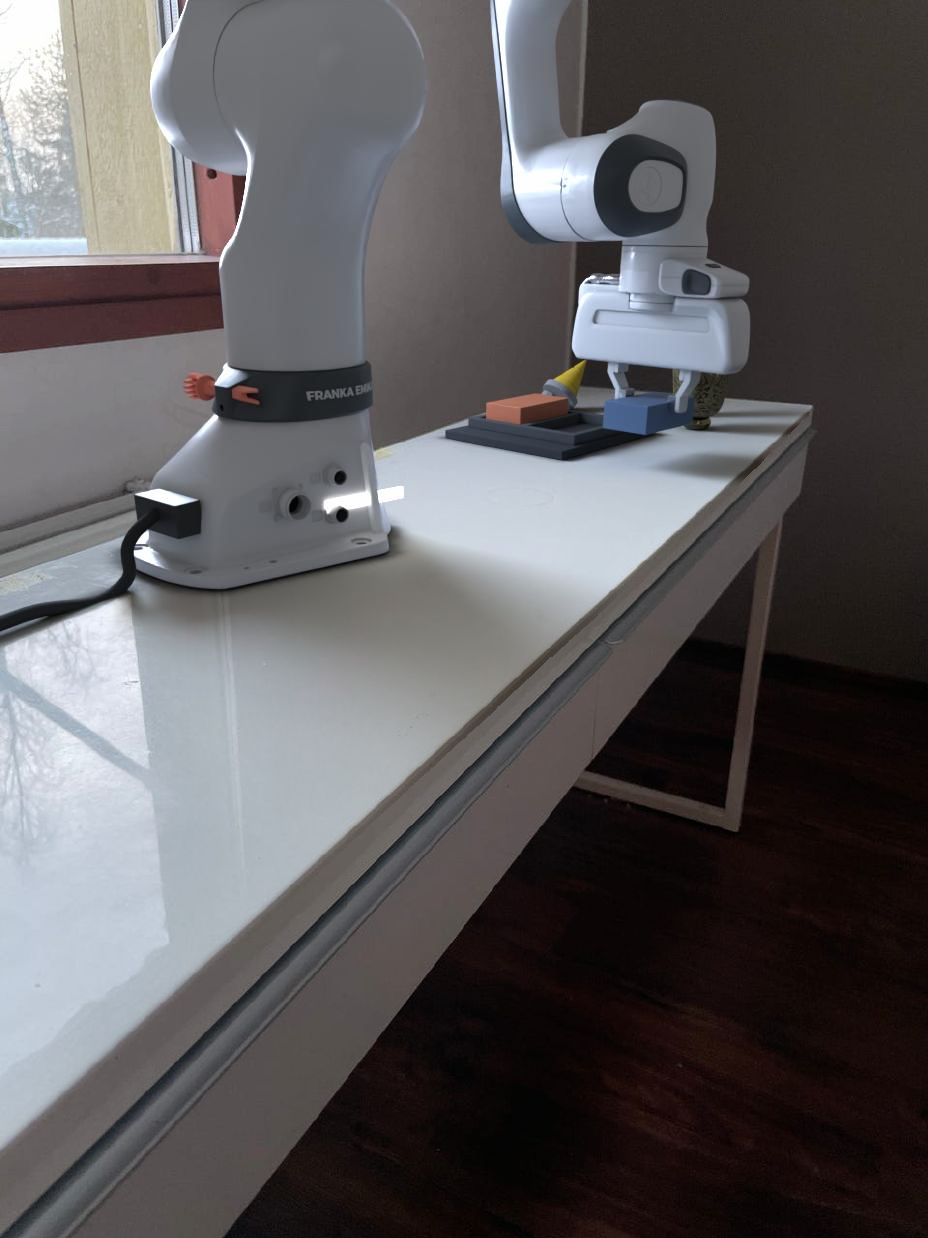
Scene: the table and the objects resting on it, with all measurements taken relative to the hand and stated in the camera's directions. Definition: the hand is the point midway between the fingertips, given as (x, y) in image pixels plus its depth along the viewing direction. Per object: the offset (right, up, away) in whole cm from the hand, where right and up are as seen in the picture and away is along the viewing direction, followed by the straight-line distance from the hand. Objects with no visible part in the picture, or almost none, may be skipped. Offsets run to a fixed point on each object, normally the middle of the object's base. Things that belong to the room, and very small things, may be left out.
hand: (650, 408), depth 106 cm
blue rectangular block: (0, -2, +1) cm, 2 cm away
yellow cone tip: (-6, +7, +32) cm, 33 cm away
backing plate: (-10, 0, +14) cm, 17 cm away
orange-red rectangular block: (-12, +2, +17) cm, 21 cm away
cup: (+10, +2, +20) cm, 22 cm away
